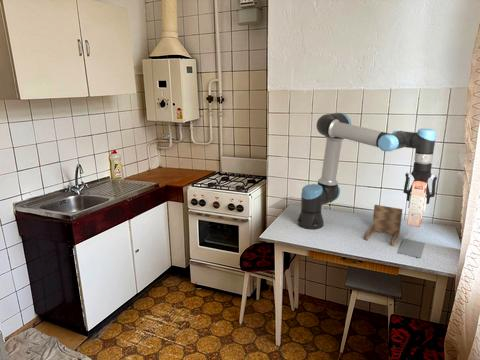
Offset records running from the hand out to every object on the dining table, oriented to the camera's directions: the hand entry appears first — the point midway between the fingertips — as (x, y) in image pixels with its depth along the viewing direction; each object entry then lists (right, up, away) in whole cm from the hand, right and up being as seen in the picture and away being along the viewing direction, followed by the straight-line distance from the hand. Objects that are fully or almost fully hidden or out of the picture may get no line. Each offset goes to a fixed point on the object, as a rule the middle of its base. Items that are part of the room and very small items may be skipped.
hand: (416, 208), depth 168 cm
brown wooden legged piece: (-9, -17, +19) cm, 27 cm away
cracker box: (0, -7, +2) cm, 7 cm away
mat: (0, -21, +6) cm, 21 cm away
